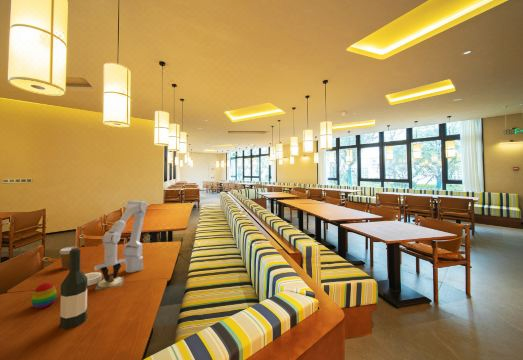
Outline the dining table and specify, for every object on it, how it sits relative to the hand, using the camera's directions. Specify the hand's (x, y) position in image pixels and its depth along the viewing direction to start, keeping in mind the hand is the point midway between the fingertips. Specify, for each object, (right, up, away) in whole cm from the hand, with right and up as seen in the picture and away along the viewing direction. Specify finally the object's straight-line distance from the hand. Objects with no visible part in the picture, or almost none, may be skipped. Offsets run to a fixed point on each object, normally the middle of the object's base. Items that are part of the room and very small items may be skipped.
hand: (110, 279), depth 121 cm
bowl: (-12, -3, 0) cm, 12 cm away
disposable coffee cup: (-41, -2, +21) cm, 46 cm away
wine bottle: (+7, -3, -32) cm, 32 cm away
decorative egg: (-16, -3, -20) cm, 26 cm away
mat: (0, -3, 0) cm, 3 cm away
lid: (0, -2, 0) cm, 2 cm away
